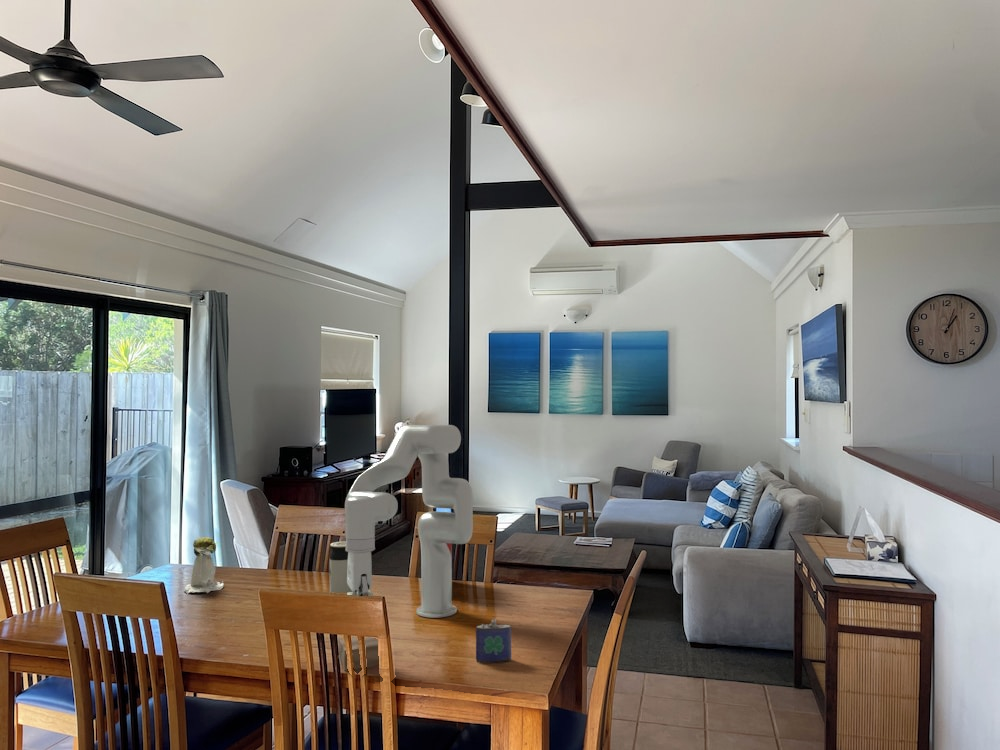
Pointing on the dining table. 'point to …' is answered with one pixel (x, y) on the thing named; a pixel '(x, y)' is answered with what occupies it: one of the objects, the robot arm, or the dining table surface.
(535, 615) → the dining table surface
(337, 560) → the travel mug
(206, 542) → the white figurine
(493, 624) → the flask
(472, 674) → the dining table surface
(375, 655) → the walnut block
